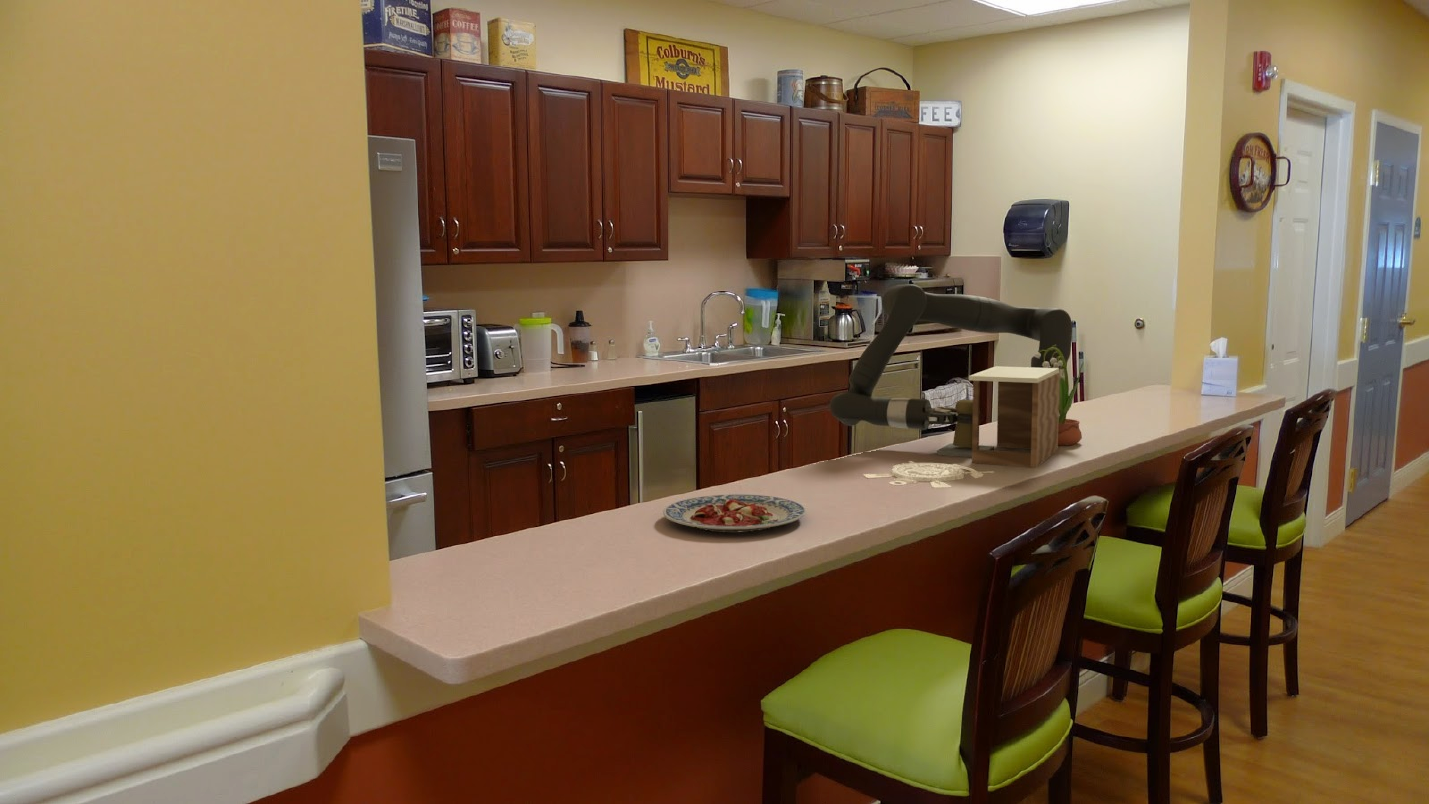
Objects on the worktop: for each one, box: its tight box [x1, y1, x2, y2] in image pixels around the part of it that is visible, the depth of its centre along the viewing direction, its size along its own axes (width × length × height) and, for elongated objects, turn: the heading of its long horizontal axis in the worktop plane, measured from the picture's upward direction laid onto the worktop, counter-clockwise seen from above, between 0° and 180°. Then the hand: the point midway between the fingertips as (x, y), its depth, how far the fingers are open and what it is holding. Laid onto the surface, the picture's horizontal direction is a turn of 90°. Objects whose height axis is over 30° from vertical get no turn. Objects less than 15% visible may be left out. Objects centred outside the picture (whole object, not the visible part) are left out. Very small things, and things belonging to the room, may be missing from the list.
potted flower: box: [1034, 345, 1084, 446], centre depth 257 cm, size 12×10×25 cm
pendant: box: [863, 460, 995, 489], centre depth 223 cm, size 21×28×1 cm
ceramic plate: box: [662, 493, 806, 533], centre depth 185 cm, size 26×26×3 cm
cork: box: [952, 399, 973, 447], centre depth 247 cm, size 6×6×11 cm
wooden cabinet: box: [968, 365, 1060, 468], centre depth 241 cm, size 24×15×20 cm, turn 151°
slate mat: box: [936, 442, 995, 458], centre depth 247 cm, size 11×11×1 cm
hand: (977, 417), depth 245 cm, fingers closed on cork, 4 cm apart
